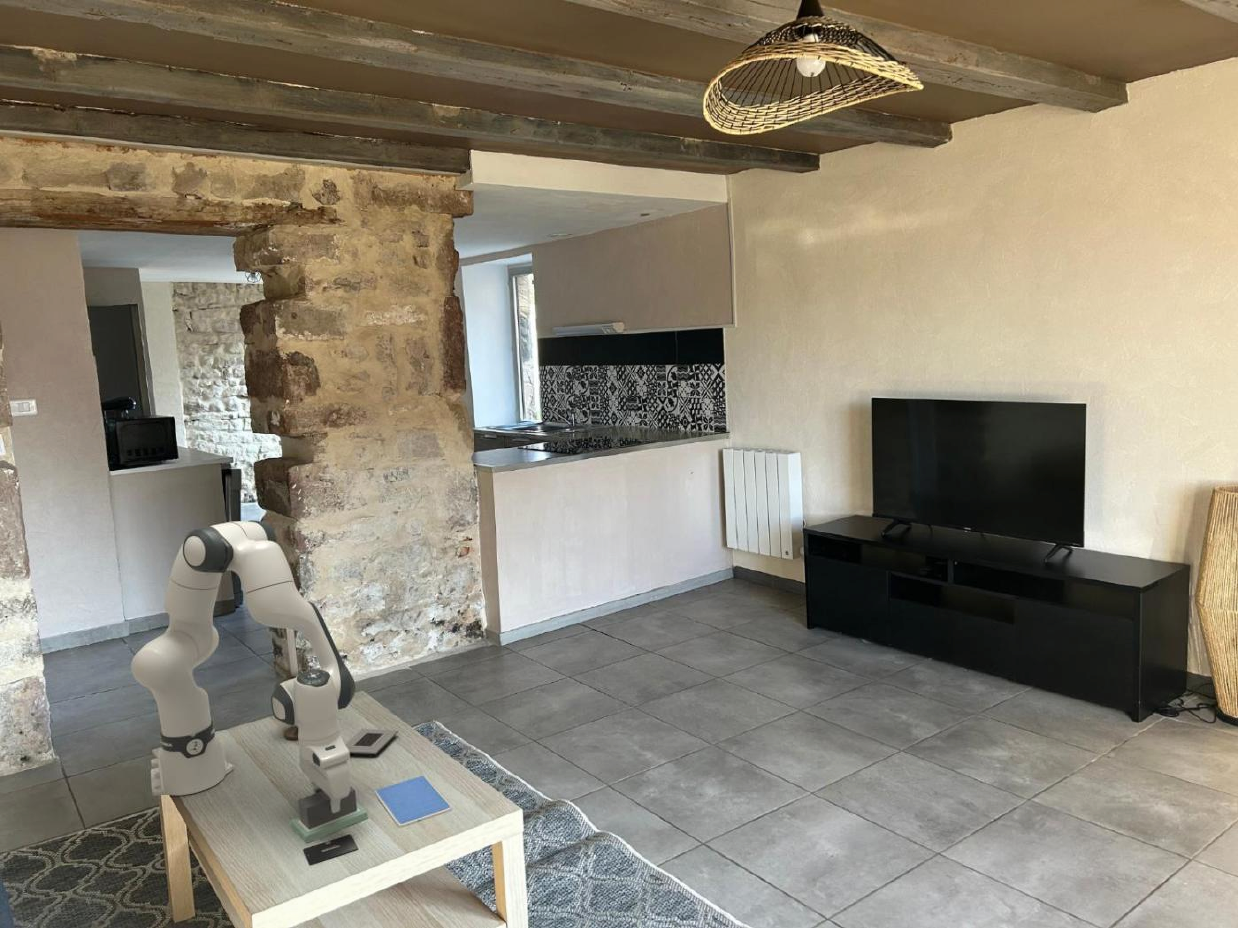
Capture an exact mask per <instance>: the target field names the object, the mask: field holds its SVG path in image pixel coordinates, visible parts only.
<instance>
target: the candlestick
mask: <svg viewBox="0 0 1238 928" xmlns="http://www.w3.org/2000/svg"><path fill="white" fill-rule="evenodd" d="M285 631H286V640H287V641H286V642H287V649H288V657H289V666H290V673H289V674H287V675H286V676H287V677H288V678H285V679H284V680H281V681H279V682H277V683H276V684H275V686H274V689H275V688H276V686H277V685H278V684H281V683H282V682H285V681H288V680H290V679H294V678H296V677H297V676H298V675H299V674H300V673H302V672H303V671H302V672H301V671H299V667H298V666H299V665H298V658H297V657H298V656H297V650H296V649H297V646H296V639H295V630H292V629H285ZM298 732H299V729H298V726H297V725H293V726H292V725H291V726H290V727H288V728H287V729H286V730H284V732H283V737H284V739H285V740H286V741H295V742H296V741H299V740H298Z"/></svg>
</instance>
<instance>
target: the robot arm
mask: <svg viewBox="0 0 1238 928" xmlns="http://www.w3.org/2000/svg"><path fill="white" fill-rule="evenodd" d="M226 571H232V572H234V573H235V574H237V576H238V577H239V579H240V583H241V588H242V591H243V592H242V593H243V597H244V601H245V604H246V608H247V610H248V612H249V615H250V616H251V618H252V619H253V620H255V621H256V622H257V623H260V624H261V625H263V626H266V627H269V628H274V629H275V628H276V629H285V630H286V629H292V630H294V631H297V632H299V633H301V634H303V635H304V636H305V638H307V641H308V642H309V644H310V647H311V649H312V651H313V653H314V656H315V657H316V660H317V662H318V664H319V666H320V668H319V669H316V668H314V669H313V668H312V669H308V670H304V671H302V673H300V674H299V675H298V676H297V677H296V678H294V679H290V680H288V681H285V682H282V683H281V684H278V683H277V684H278V685H277V686H276V685H275V686H276V688H275V687H274V689H273V692H272V694H271V697H270V704H271V710H272V714H273V717H274V718H275V719H276V720H278V721H279V722H280V723H283V724H285V725H289V726H291V727H292V726H295V725H297V726H298V729H299V732H298V740H297V741H298V747H299V748H298V750H299V751H298V753H299V767H300V769H301V772H302V773H303V774H304V775H305V776H306V777H307V778H309V782H310V784H311V787H312V793H313V794H315V793H318V792H321V791H324V792H325V793H326V794H327V795H328V796H329V797H330V799H331V803H330V804H329V807H330V811H331V812H332V813H336V812H338V811H340V801H341V799H342V798H345V797H347V796H348V795H349V793H350V786H351V776H350V775H351V773H350V765H349V762H348V760H350V759H351V754H350V753H349V750H348V748H347V747H346V745H345V744H346V743H345V742H344V740H343V736H342V734H341V726H340V722H339V720H338V713H339V710H342V709H346V708H347V707H348V706H349V705H350V703H351V702H352V700H353V698H354V696H355V694H356V683H355V680H354V677H353V675H352V673H351V672H350V671H349V668H348V667H347V665H346V664H345V662H344V660H343V658H342V657H341V654H340V651H339V650H338V648H337V646H336V644H335V641H334V640H333V639H334V638H333V637H332V635H331V633H330V631H329V628H328V626H327V623H326V622H325V620H324V618H323V616H322V615H321V612H320V611H319V609H318V607H317V606H316V605H315V604H314V602H312V601H308V600H306V599H305V598H304V597H303V596H302V595H301V593H300V591H299V590H298V588H297V587H296V584H295V583H296V582H295V580H294V577H293V573H292V570H291V567H290V565H289V562H288V560H287V558H286V554H284V551H283V549H282V548H281V546H280V545H279V544H278V541H277V535H276V533H275V530H274V529H273V527H272V526H271V524H268V523H266V522H264V521H260V520H253V519H252V520H246V521H245V520H244V521H242V520H241V521H239V520H237V521H227V522H224V523H218V524H217V523H216V524H213V525H204V526H200V527H197V528H195V529H193V530H191V531H189V532H188V534H187V535H186V536H185V537H184V540H183V543H182V544H181V547H180V548H179V550H178V553H177V554H176V557H175V559H174V562H173V565H172V568H171V572H170V575H169V580H168V584H167V588H166V592H165V595H164V600H163V609H164V611H165V612H166V613H167V615H168V616H169V617H168V618H169V621H168V622H169V624H168V627H167V629H166V631H165V632H164V633H163V634H161V635H160V636H158V637H156V638H154V639H152V640H151V641H148V642H147V643H145V644H144V645H143V646H142V647H141V648H140V650H138V652H137V653H136V654H135V655H134V656H133V658H132V660H131V664H130V670H131V674H132V676H133V678H134V679H135V681H136V682H137V683H139V684H140V685H141V686H142V687H145V688H147V689H149V690H150V692H151V694H152V696H153V698H154V700H155V702H156V705H157V709H158V715H159V720H160V727H161V729H160V730H161V732H160V736H159V742H160V746H161V747H160V749H158V752H157V755H158V757H156V758H152V759H151V760H150V762H151V769H150V781H151V782H150V783H151V795H152V796H154V797H155V796H164V795H165V796H166V795H167V796H168V795H169V796H186V795H192V794H196V793H199V792H202V791H205V790H208V789H210V788H212V787H214V786H215V785H218V784H219V783H221V781H222V780H223V779H224V778H225V777H226V775H227V774H229V773H231V772H233V770H234V765H233V764H232V763H230V762H228V761H226V756H225V751H224V749H225V748H224V745H223V741H222V740H220V739H219V738H217V737H215V736H216V734H215V733H216V732H215V730H216V729H215V726H214V722H213V720H212V718H211V709H210V702H209V694H208V692H207V691H206V690H205V689H204V688H202V687H200V686H198V685H197V683H196V682H195V679H194V675H193V671H194V669H195V668H197V667H198V666H200V665H201V664H202V663H204V662H206V661H207V660H208V659H209V658H210V657H211V656H212V654H213V653H214V652H215V651H216V649H217V648H218V645H219V642H220V641H219V640H220V635H219V632H218V630H217V628H216V627H215V626H214V621H213V620H214V618H213V617H214V610H215V609H214V608H215V604H216V600H217V596H218V592H219V588H220V584H221V580H222V576H223V574H224V573H225V572H226ZM313 794H312V795H313Z"/></svg>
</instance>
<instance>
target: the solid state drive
mask: <svg viewBox="0 0 1238 928" xmlns="http://www.w3.org/2000/svg"><path fill="white" fill-rule="evenodd" d="M358 850H359V847H358V845H357V843H356V842H355V839H354V838H353V835H352V834H351V833H350V834H346V835H342V836H340V837H336V838H334V839H333V838H332V839H330V840H327V841H324V842H321V843H317V844H314V845H311V846H308V847H305V848H303V849H302V851H303V854H304V856H305V858H306V861H307V863H308V865H309V866H314V865H318V864H321V863H323V862H327V861H330V860H332V859H335V858H337V857H341V856H344V855H347V854H350V853H355V852H357V851H358Z"/></svg>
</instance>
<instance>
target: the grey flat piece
mask: <svg viewBox="0 0 1238 928" xmlns="http://www.w3.org/2000/svg"><path fill="white" fill-rule="evenodd" d="M398 733H399V730H395V729H372V728H368V729H367V728H362V729H361V730H359V732H357V733H356V734H355V735H354V736H353V737H352V738H351V739H350V740H349V741H348V742H346V743H345V745H346V747H347V748H348V750H349V753H350V755H364V756H365V755H366V756H368V755H369V756H376V755H377V754H378V753H379V752H380V751H381V750H382V749H383V748H384V747H385V746H386V745H387V744H389V742H390V741H391V740H392V739H393V738H394V737H395V736H396V735H397V734H398Z"/></svg>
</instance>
